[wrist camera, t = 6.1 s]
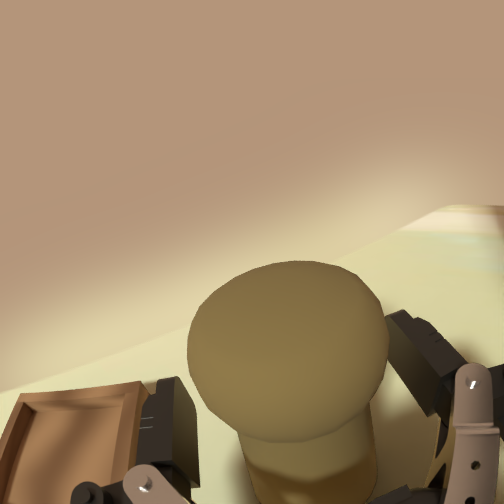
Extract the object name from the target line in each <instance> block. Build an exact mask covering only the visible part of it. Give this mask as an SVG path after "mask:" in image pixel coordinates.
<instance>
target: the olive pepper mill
mask: <svg viewBox="0 0 504 504" xmlns="http://www.w3.org/2000/svg"><path fill="white" fill-rule="evenodd" d="M389 341H390V336H389V332H388V328H387V325H386V321H385V317H384V314H383V311H382V307H381V304H380V301H379V300H378V298H377V297H376V296H375V295H374V293H373V292H372V291H371V290H370V289H369V287H368V286H367V285H366V284H365V283H364V282H363V281H362V280H361V279H360V278H359V277H358V276H357V275H356V274H354V273H352V272H350V271H348V270H346V269H344V268H342V267H339V266H334V265H330V264H325V263H320V262H315V261H288V262H280V263H273V264H270V265H266V266H262V267H259V268H255V269H253V270H250V271H248V272H246V273H243V274H241V275H239V276H237V277H235V278H233V279H232V280H230V281H229V282H227V283H226V284H225V285H223V286H221V287H220V288H218V289H217V290H216V291H214V292H213V293H212V294H211V295H210V296H209V297H208V298H207V299H206V300H205V302H203V304H202V305H201V306H200V307H199V309H198V311H197V313H196V315H195V317H194V319H193V321H192V323H191V327H190V331H189V335H188V344H187V361H188V367H189V372H190V376H191V378H192V380H193V382H194V384H195V386H196V388H197V390H198V392H199V394H200V396H201V398H202V399H203V401H204V403H205V404H206V406H207V408H208V409H209V410H210V411H211V412H212V413H214V414H215V415H216V416H217V417H219V418H220V419H221V420H222V421H224V422H225V423H226V424H228V425H229V426H230V427H232V428H233V429H234V430H236V431H237V433H238V437H239V440H240V444H241V447H242V451H243V454H244V458H245V461H246V465H247V468H248V472H249V475H250V478H251V482H252V485H253V488H254V491H255V495H256V498H257V499H258V501H259V502H260V504H364V503H365V502H366V500H367V499H368V498H369V496H370V495H371V494H372V491H373V488H374V485H375V482H376V479H377V463H376V453H375V443H374V435H373V427H372V419H371V412H370V405H369V401H370V400H371V398H372V397H373V395H374V394H375V393H376V391H377V389H378V387H379V385H380V383H381V381H382V380H383V377H384V372H385V367H386V363H387V358H388V351H389Z"/></svg>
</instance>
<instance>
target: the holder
mask: <svg viewBox="0 0 504 504" xmlns="http://www.w3.org/2000/svg"><path fill="white" fill-rule="evenodd" d="M148 395H150V394H149V393H148V391H147V390H146V388H145V387H144V385H143V384H142V382H141V381H135V382H129V383H123V384H116V385H109V386H101V387H93V388H85V389H75V390H65V391H54V392H40V393H21V394H20V396H19V398H18V400H17V402H16V404H15V406H14V408H13V411H12V413H11V415H10V417H9V420H8V422H7V424H6V427H5V429H4V432H3V434H2V437H1V439H0V504H70V499H71V494H72V491H73V489H74V488H75V487H76V486H77V485H78V484H80V483H82V482H85V481H90V482H94V483H96V484H97V485H99V486H100V487H103V486H106V485H110V484H113V483H116V482H119V481H122V480H123V479H124V477H125V475H126V473H127V472H128V471H129V470H130V469H131V468H133V467H135V463H136V454H137V445H138V436H139V429H140V420H141V412H142V406H143V404H144V402H145V401H146V399H147V397H148Z"/></svg>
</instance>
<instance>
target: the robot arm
mask: <svg viewBox="0 0 504 504" xmlns="http://www.w3.org/2000/svg"><path fill="white" fill-rule="evenodd" d="M385 321H386V325H387V328H388V332H389V336H390V341H389V351H388V358H387V359H388V361H389V362H390V364H391V365H392V367H393V368H394V369H395V371H396V372H397V374H398V375H399V376H400V378H401V379H402V381H403V382H404V384H405V385H406V387H407V388H408V389H409V391H410V392H411V394H412V395H413V397H414V398H415V400H416V401H417V403H418V404H419V406H420V407H421V409H422V410H423V411H424V413H425V414H426V416H427V417H429V416H431V415H433V414H434V413H436V412H437V414H438V415H439V417H440V418H439V421H438V428H437V435H436V442H435V448H434V453H433V459H432V463H431V466H430V469H429V472H428V474H427V477H426V481H425V484H424V488H415V489H409V488H408V486H407V484H406V485H404V486H402V487H400V488H398V489H396V490H394V491H392V492H389V493H387V494H385V495H383V496H380V497H378V498H376V499H374V500H373V501H371V502H370V503H369V504H494V498H495V492H496V484H497V475H498V464H499V447H500V436H501V438H502V439H503V441H504V364H501V365H498V366H495V367H491V368H486V367H485V366H483V365H481V364H477V363H468V362H467V361H466V360H465V359H464V358H463V357H462V356H461V355H460V354H459V353H458V352H457V351H456V350H455V349H454V348H453V346H452V345H451V344H450V343H449V342H448V341H447V340H446V339H444V337H443V336H442V335H441V334H440V333H439V332H437V330H436V329H435V328H434V327H433V326H432V325H431V324H430V323H429V322H427V321H425V320H423V319H421V318H419V317H417V318H414V319H413V318H412V317H411V316H410V315H409V314H408V313H407V312H406V311H405V310H400V311H397V312H395V313H392V314H390V315H387V316H385ZM191 488H200V475H199V457H198V436H197V413H196V408H195V405H194V402H193V400H192V399H191V397H190V395H189V393H188V392H187V390H186V388H185V387H184V385H183V383H182V381H181V380H180V378H179V377H178V376H175V377H170V378H165V379H159V380H158V381H157V386H156V394H153V395H148V397H147V399H146V401H145V402H144V404H143V406H142V412H141V420H140V429H139V436H138V445H137V454H136V463H135V467H133V468H131V469H130V470H129V471H128V472H127V473H126V475H125V477H124V479H123V480H122V481H119V482H116V483H113V484H110V485H106V486H103V487H100V486H99V485H97V484H96V483H94V482H90V481H85V482H82V483H80V484H78V485H77V486H76V487H75V488H74V489H73V491H72V494H71V499H70V504H197V503H196V502H195V501H194V500H193V499H192V498H191Z"/></svg>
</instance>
